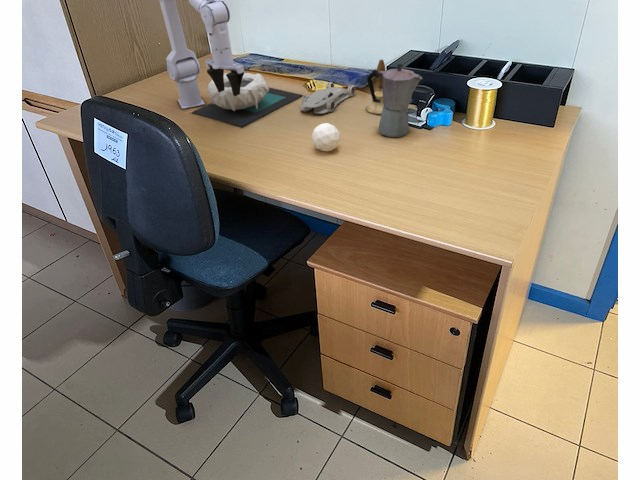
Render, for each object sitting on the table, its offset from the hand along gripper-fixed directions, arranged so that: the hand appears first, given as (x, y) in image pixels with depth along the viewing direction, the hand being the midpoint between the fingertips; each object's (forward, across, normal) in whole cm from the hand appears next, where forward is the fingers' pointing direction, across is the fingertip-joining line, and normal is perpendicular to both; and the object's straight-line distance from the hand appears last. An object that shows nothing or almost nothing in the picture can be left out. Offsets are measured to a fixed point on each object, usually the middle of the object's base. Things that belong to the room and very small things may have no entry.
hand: (229, 93), depth 149 cm
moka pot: (+11, +46, +20) cm, 52 cm away
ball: (+11, +36, +1) cm, 38 cm away
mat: (+10, -8, +14) cm, 20 cm away
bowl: (+10, -8, +11) cm, 17 cm away
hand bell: (+11, +34, +33) cm, 49 cm away
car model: (+11, +16, +29) cm, 35 cm away
